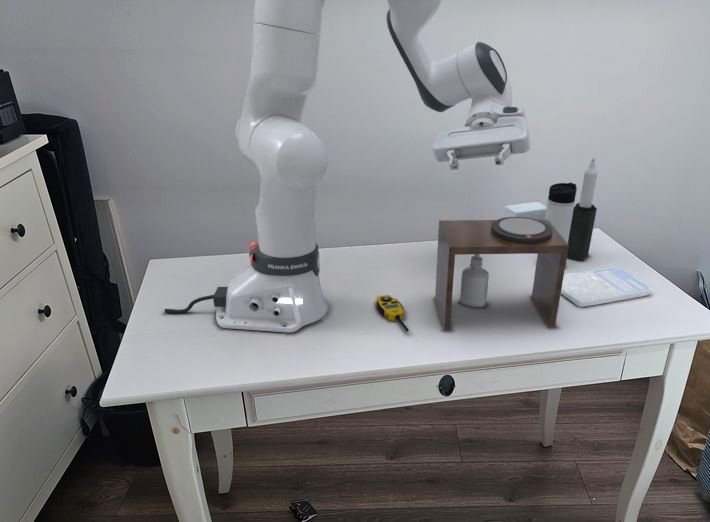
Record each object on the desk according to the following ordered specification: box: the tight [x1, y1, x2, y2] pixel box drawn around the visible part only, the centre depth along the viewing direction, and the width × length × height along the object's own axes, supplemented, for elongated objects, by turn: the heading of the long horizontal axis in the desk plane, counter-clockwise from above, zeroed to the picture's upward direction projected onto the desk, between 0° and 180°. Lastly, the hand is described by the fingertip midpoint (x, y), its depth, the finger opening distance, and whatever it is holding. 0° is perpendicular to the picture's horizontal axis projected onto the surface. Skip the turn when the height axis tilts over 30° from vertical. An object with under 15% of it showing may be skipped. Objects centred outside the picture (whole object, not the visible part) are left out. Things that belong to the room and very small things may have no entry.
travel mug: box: [545, 181, 578, 244], centre depth 148 cm, size 6×7×20 cm
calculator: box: [561, 266, 652, 308], centre depth 142 cm, size 13×20×2 cm, turn 112°
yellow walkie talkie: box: [376, 294, 410, 333], centre depth 128 cm, size 5×2×15 cm
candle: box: [567, 157, 598, 262], centre depth 152 cm, size 5×5×25 cm
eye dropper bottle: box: [459, 254, 490, 308], centre depth 132 cm, size 4×6×12 cm
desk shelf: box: [434, 219, 569, 332], centre depth 127 cm, size 23×14×18 cm, turn 96°
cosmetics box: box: [502, 201, 547, 220], centre depth 161 cm, size 10×6×10 cm, turn 113°
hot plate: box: [491, 217, 553, 244], centre depth 122 cm, size 12×12×1 cm
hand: (475, 164), depth 125 cm, fingers open, 8 cm apart
